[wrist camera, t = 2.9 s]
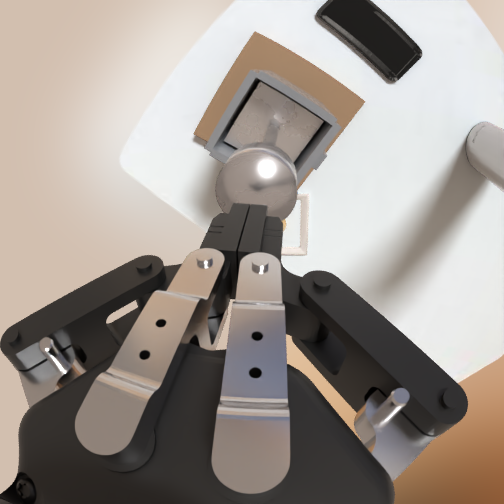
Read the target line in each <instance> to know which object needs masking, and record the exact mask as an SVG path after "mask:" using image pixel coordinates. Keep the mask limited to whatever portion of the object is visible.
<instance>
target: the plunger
mask: <svg viewBox="0 0 504 504" xmlns="http://www.w3.org/2000/svg"><path fill="white" fill-rule="evenodd" d="M323 122H324V121H323V120H322V119H320V118H319V117H317V116H316V115H314V114H313V113H311V112H310V111H308V110H307V109H305V108H304V107H302V106H301V105H299V104H298V103H296V102H294V101H293V100H291V99H290V98H288V97H286V96H285V95H283V94H282V93H280V92H278V91H276V90H275V89H273V88H271V87H270V86H268V85H266V84H264V83H263V82H260V83H259V84H258V86H257V88H256V89H255V91H254V92H253V94H252V95H251V97H250V98H249V100H248V102H247V103H246V105H245V106H244V108H243V110H242V111H241V113H240V114H239V116H238V118H237V119H236V121H235V123H234V124H233V126H232V128H231V129H230V131H229V133H228V134H227V136H226V138H225V139H224V141H225V142H227V143H229V144H231V145H232V146H234V147H236V148H238V149H237V150H236V151H234V153H233V154H232V155H231V156H230V157H229V159H228V160H227V162H226V164H225V165H224V167H223V168H222V170H221V172H220V173H219V175H218V178H217V181H216V189H215V191H216V197H217V201H218V203H219V205H220V207H221V209H222V210H223V212H224V213H227V214H229V212H230V210H231V207H232V205H233V203H243V204H250V206H251V204H260V205H268V215H267V216H272V217H279V218H280V219H281V221H283V220H284V219H285V218H287V217H288V215H289V214H290V213H291V212H292V210H293V208H294V206H295V204H296V200H297V174H296V169H295V166H294V161H295V160H296V159H297V157H298V156H299V154H300V153H301V152H302V150H303V149H304V148H305V146H306V145H307V144H308V142H309V141H310V139H311V138H312V137H313V135H314V134H315V133H316V131H317V130H318V129H319V127H320V126H321V125H322V123H323Z"/></svg>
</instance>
